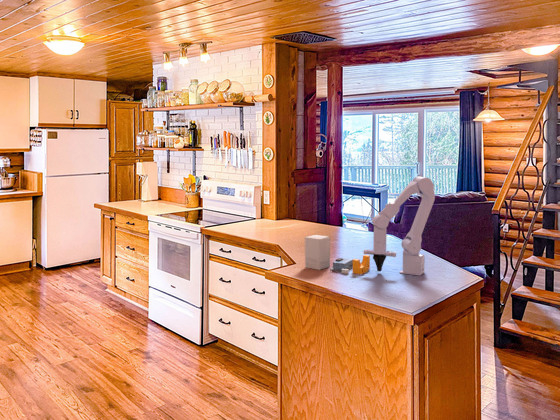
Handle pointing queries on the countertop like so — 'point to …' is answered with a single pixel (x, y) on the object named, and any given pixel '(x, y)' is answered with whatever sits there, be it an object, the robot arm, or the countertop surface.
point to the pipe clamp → (361, 265)
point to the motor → (342, 265)
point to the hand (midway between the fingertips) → (379, 270)
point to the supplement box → (317, 252)
